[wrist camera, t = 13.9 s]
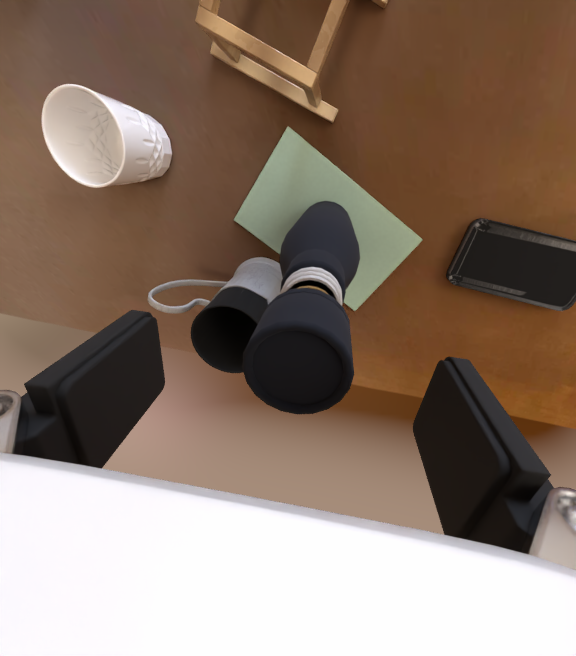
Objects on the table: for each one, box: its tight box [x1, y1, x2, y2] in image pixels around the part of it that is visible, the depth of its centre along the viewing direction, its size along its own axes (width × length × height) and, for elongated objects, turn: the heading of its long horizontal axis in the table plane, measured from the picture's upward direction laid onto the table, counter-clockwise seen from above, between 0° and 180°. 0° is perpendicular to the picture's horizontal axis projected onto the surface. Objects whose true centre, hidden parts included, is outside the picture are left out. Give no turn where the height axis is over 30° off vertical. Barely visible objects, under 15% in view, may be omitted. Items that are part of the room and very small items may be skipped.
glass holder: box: [148, 257, 283, 373], centre depth 35 cm, size 9×14×15 cm, turn 71°
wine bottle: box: [242, 201, 360, 414], centre depth 23 cm, size 6×6×30 cm
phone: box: [446, 218, 576, 311], centre depth 35 cm, size 8×1×15 cm
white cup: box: [42, 84, 172, 188], centre depth 31 cm, size 8×8×10 cm
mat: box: [234, 126, 423, 311], centre depth 37 cm, size 20×12×1 cm, turn 54°
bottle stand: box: [195, 0, 389, 123], centre depth 25 cm, size 14×11×9 cm
